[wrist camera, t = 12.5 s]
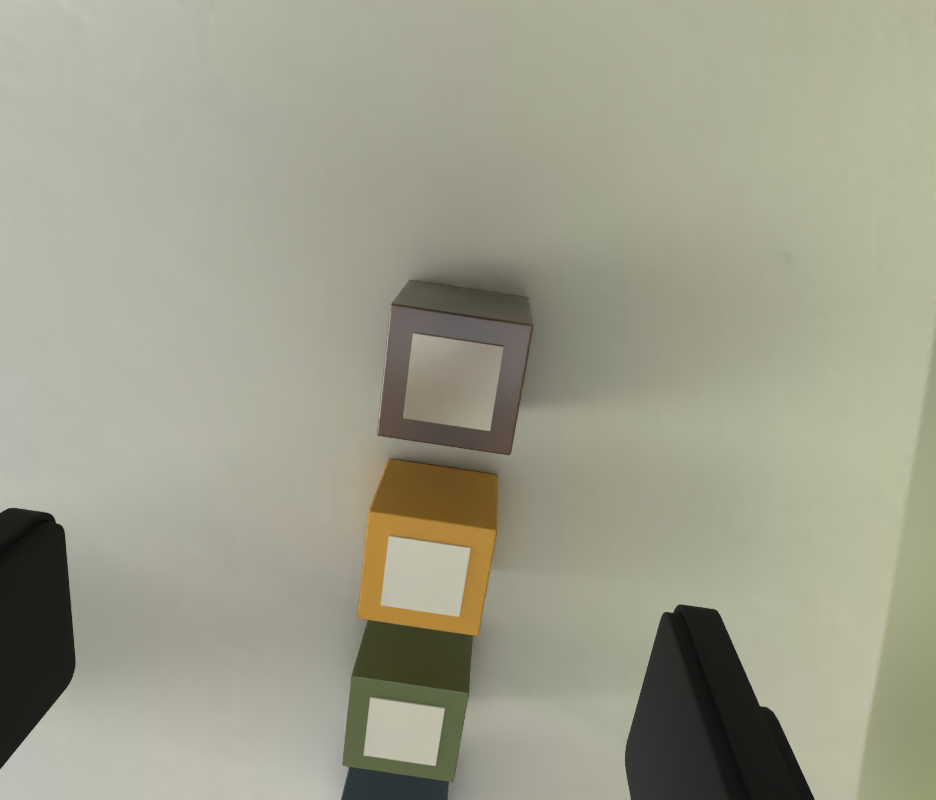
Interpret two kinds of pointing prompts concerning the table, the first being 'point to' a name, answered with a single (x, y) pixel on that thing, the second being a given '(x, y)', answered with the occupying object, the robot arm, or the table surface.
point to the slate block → (391, 786)
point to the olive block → (408, 701)
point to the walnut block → (455, 366)
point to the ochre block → (429, 547)
